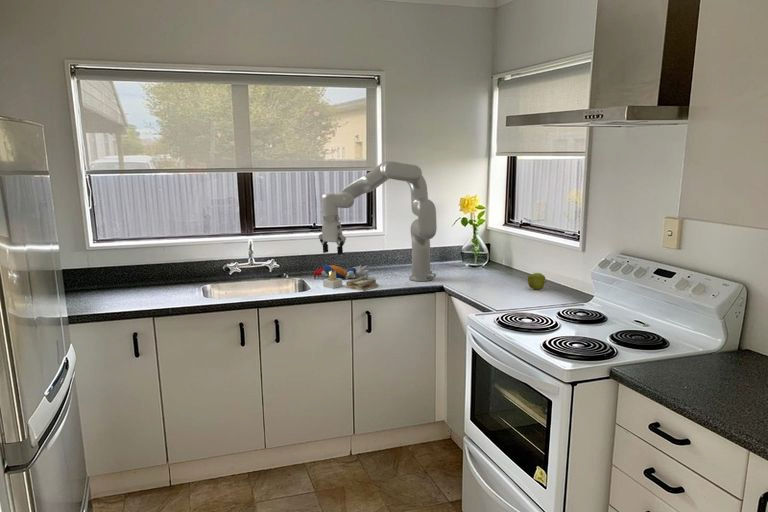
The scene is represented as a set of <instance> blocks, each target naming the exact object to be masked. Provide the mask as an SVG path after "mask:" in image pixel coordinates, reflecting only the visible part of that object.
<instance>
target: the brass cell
mask: <svg viewBox="0 0 768 512" xmlns="http://www.w3.org/2000/svg"><path fill="white" fill-rule="evenodd" d="M328 278H329V280H330V281H335V280H336V271H334V270H331V271H329V277H328Z"/></svg>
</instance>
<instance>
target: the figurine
mask: <svg viewBox="0 0 768 512" xmlns="http://www.w3.org/2000/svg"><path fill="white" fill-rule="evenodd" d="M367 266H368V264H367V265H365V266H364V265H363V266H362V265H357V266H354V267H350V268H348V269H347V270H346V269H343V267H341V266H337V265H335V264H331V265H329V264H322V268H317V269H316V270H314V271H313V278H314V280H316V278H317V277H320V276H322V277H323V276H325V277H328V278H329V271H331V270H334V271H336V278H339V279H344V278H345V280H348V279H349V278H354V277H357V278H361V277H364V278H365V279H366V280H367V279H368V277H369V274H368V273H369V272H370V269H366V268H367Z"/></svg>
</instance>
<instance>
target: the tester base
mask: <svg viewBox="0 0 768 512" xmlns="http://www.w3.org/2000/svg"><path fill="white" fill-rule="evenodd" d="M361 280H362V281H364V282H361V283H358V284H354V282H357V281H361ZM345 284H346V285H345V286H346V289H350V288H351V289H352V290H356V289H358V290H357V291H361V290H364V291H366V289H367V290H370V289H373V288H376V286H377V287H379V283H377V280H376V279H375V278H371V279H368V280H367V279H366V280H365V278H364V277H361V278H358V277H357V278H354V279H351V280H350V279H349V280H347V281H346V282H345ZM369 288H370V289H369Z"/></svg>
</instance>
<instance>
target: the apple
mask: <svg viewBox="0 0 768 512" xmlns="http://www.w3.org/2000/svg"><path fill="white" fill-rule="evenodd" d="M547 282H548V281H547V280H546V277H545V275H544V274H542V273H540V272H534V273H532V274H530V275H528V277H527V284H528V286H529V288H531V289H533V290H537V291H539V290H542V289H543V288H544V285H545V283H547Z"/></svg>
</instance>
